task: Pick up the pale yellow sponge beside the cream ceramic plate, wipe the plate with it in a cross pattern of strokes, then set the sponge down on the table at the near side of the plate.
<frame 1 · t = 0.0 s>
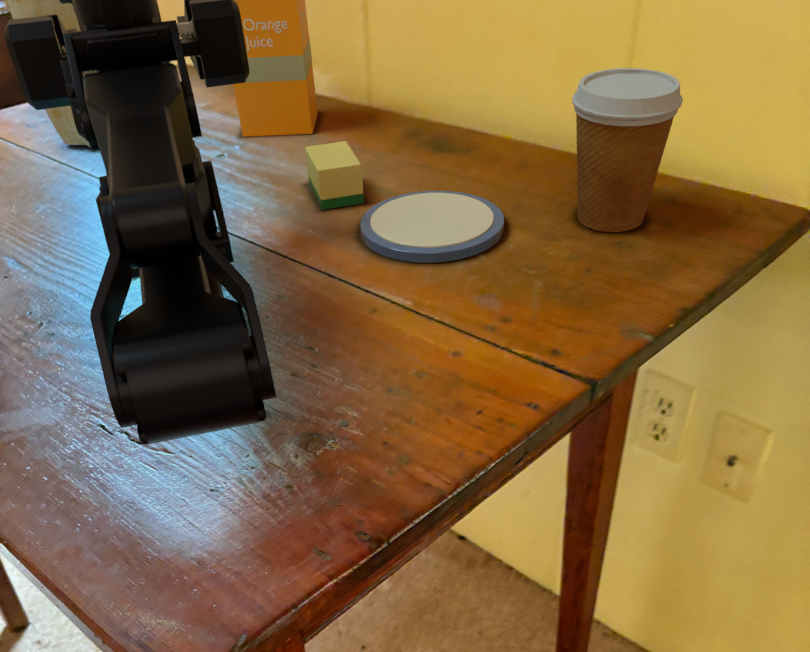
hand: (129, 29, 73), 17 cm above the table, tool horizontal, fingers open, 9 cm apart
sponge: (336, 194, 86), on the table
disposable coffee cup: (609, 220, 79), on the table
plate: (431, 229, 78), on the table
orange juice: (281, 126, 102), on the table
food model: (96, 144, 100), on the table
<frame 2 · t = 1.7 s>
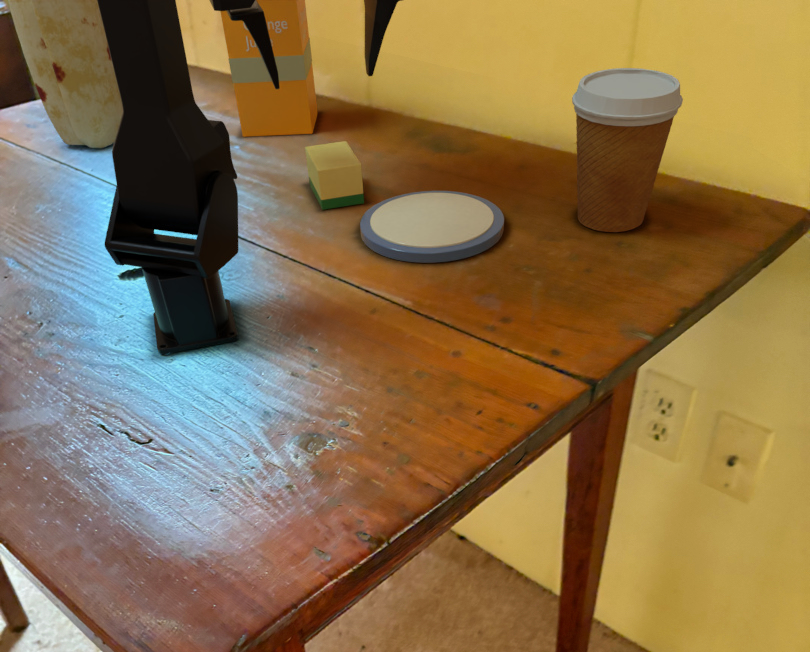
hand: (323, 81, 78), 11 cm above the table, tool pointing down, fingers open, 9 cm apart
nothing on the table moved.
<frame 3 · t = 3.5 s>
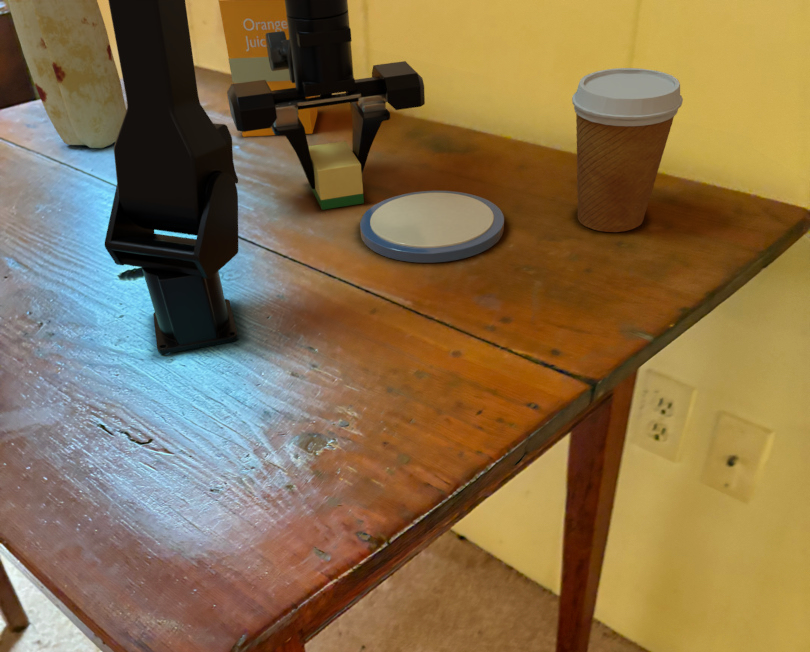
hand: (335, 184, 85), 1 cm above the table, tool pointing down, fingers closed on sponge, 4 cm apart
sponge: (336, 194, 86), on the table, touching gripper
everything else where it was.
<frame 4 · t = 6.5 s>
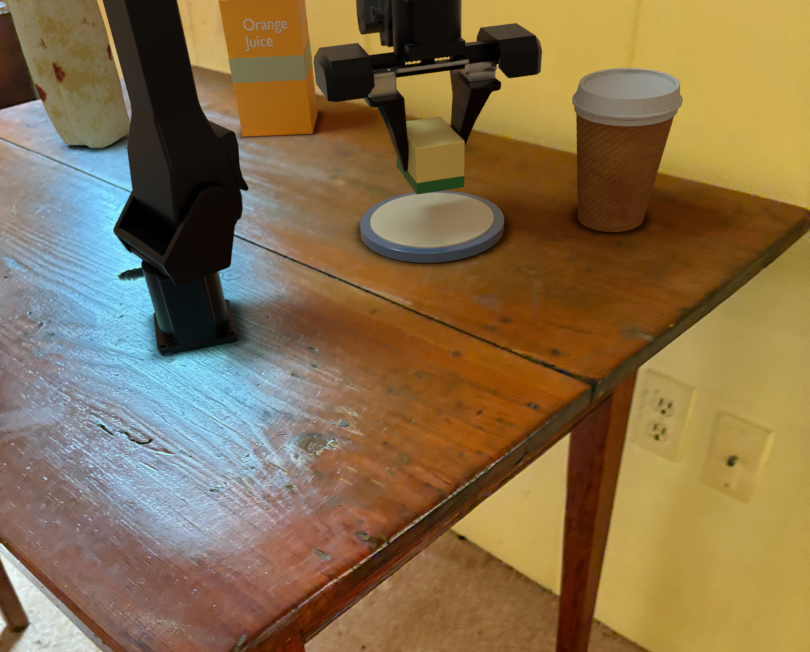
hand: (429, 166, 74), 6 cm above the table, tool pointing down, fingers closed on sponge, 4 cm apart
sponge: (429, 177, 75), point 5 cm above the table, touching gripper
everything else where it was.
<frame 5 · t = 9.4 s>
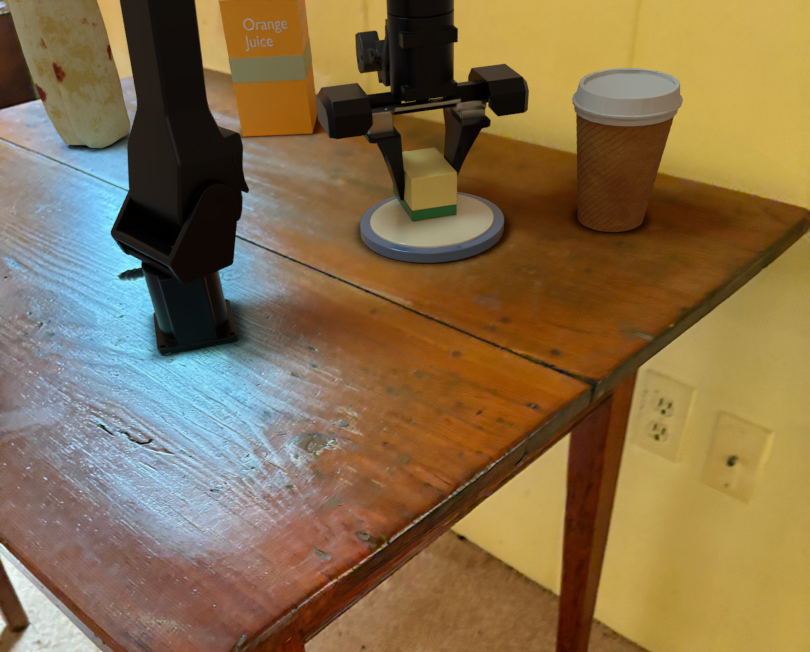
hand: (424, 195, 79), 2 cm above the table, tool pointing down, fingers closed on sponge, 4 cm apart
sponge: (424, 204, 80), point 1 cm above the table, touching gripper, plate
everything else where it was.
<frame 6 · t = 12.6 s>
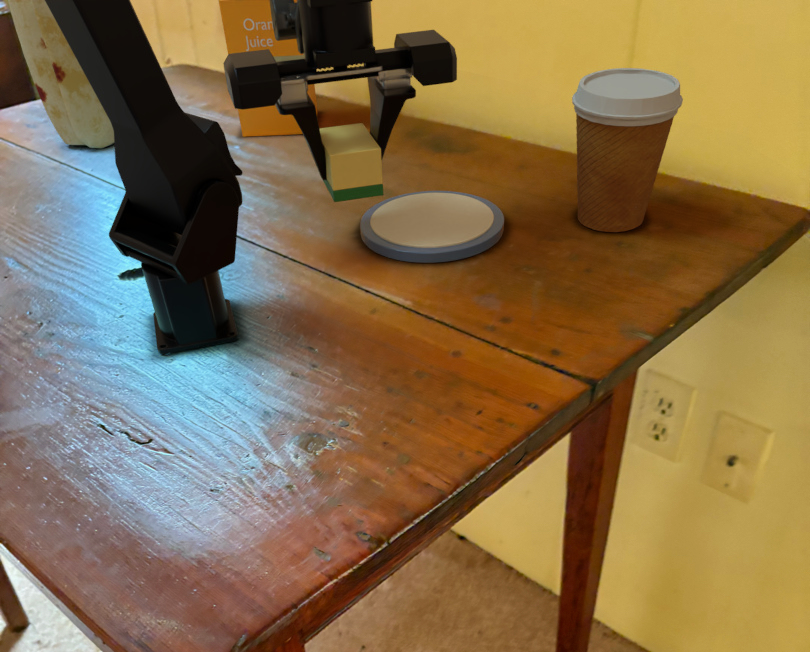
hand: (349, 174, 73), 6 cm above the table, tool pointing down, fingers closed on sponge, 4 cm apart
sponge: (350, 184, 73), point 5 cm above the table, touching gripper
everything else where it was.
when the fingers open (1 cm above the table, at t = 15.5 s): sponge stays where it is, on the table.
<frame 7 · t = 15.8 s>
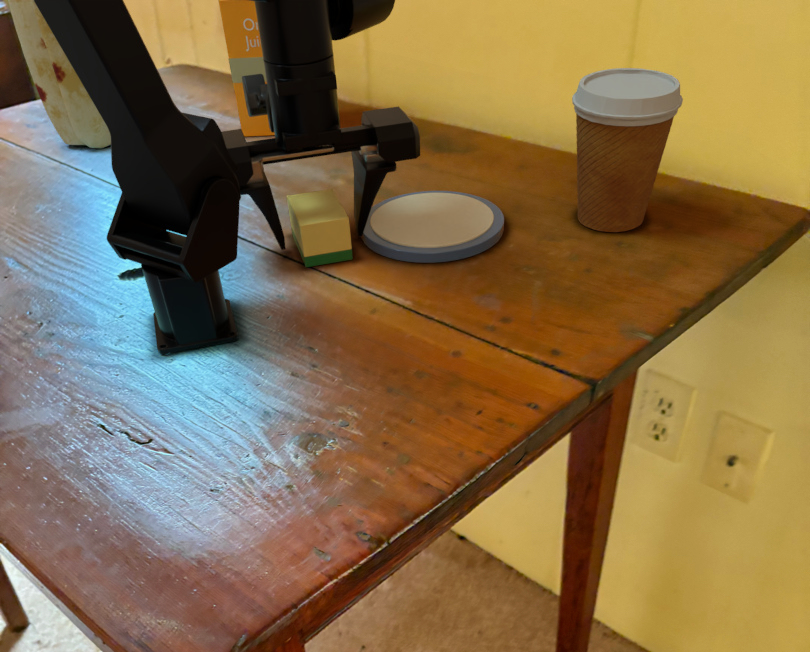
hand: (321, 241, 76), 1 cm above the table, tool pointing down, fingers open, 7 cm apart
sponge: (322, 247, 77), on the table
everything else where it was.
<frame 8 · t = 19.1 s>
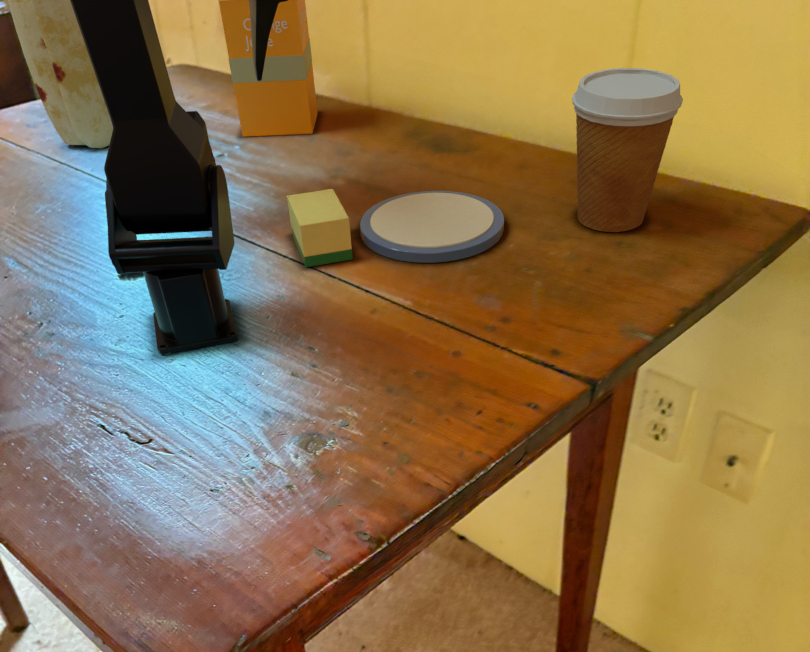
hand: (209, 86, 75), 12 cm above the table, tool pointing down, fingers open, 9 cm apart
nothing on the table moved.
at the end: the gripper is holding nothing; sponge inside the target area (0.1 cm from its centre), on the table; sponge moved 12.6 cm from its start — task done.
